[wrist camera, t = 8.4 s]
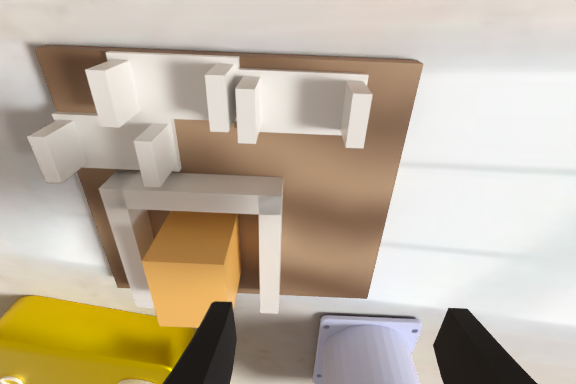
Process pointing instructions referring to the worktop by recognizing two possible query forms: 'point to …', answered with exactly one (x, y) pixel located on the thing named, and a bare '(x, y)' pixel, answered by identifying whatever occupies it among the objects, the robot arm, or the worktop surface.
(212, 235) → the block
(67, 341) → the element tile
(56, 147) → the clip
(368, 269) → the board
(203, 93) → the clip
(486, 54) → the worktop surface
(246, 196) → the frame
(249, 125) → the clip
